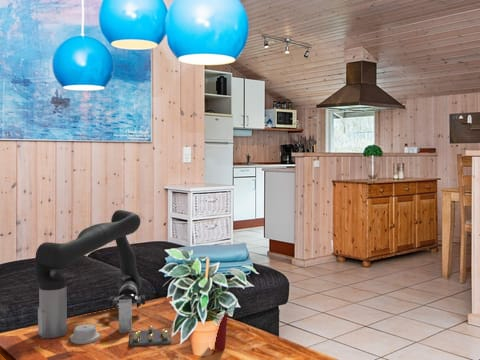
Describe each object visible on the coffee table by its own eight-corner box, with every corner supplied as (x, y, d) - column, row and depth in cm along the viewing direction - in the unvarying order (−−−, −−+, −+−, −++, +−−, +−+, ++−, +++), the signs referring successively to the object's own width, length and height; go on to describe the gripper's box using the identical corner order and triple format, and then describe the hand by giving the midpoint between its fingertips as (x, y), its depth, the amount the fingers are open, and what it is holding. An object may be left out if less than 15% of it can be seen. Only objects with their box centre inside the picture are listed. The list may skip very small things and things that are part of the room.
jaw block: (118, 332, 184) (118, 303, 183) (119, 328, 188) (119, 299, 188) (131, 332, 185) (131, 302, 184) (131, 328, 189) (131, 299, 189)
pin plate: (129, 346, 171) (129, 334, 171) (130, 333, 183) (130, 323, 183) (171, 343, 174) (171, 332, 174) (169, 331, 186) (169, 321, 185)
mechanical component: (85, 332, 185) (64, 341, 176) (84, 320, 185) (63, 329, 176) (105, 337, 180) (85, 346, 171) (105, 325, 180) (85, 334, 171)
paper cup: (230, 344, 174) (230, 304, 173) (224, 353, 166) (225, 311, 165) (208, 342, 175) (208, 302, 175) (202, 350, 168) (202, 309, 167)
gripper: (110, 286, 211) (107, 297, 195) (145, 284, 214) (145, 295, 198) (110, 303, 212) (107, 316, 196) (145, 302, 214) (145, 314, 198)
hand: (126, 305), depth 197 cm, fingers open, 8 cm apart
